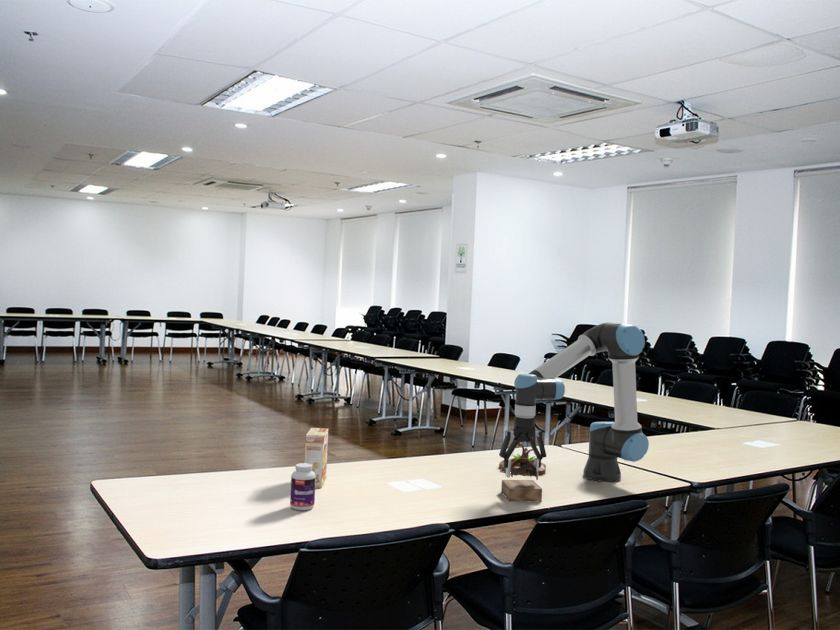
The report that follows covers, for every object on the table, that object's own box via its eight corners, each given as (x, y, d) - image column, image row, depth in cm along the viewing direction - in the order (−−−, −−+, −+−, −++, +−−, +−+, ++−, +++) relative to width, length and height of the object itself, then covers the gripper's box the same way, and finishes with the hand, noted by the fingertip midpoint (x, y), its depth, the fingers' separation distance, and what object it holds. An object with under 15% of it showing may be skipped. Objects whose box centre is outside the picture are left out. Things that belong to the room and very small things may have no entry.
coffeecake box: (322, 488, 264) (324, 435, 263) (302, 487, 264) (304, 434, 263) (327, 477, 279) (329, 427, 278) (308, 477, 278) (310, 427, 278)
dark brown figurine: (541, 483, 257) (532, 464, 255) (516, 492, 259) (507, 473, 257) (538, 467, 268) (529, 448, 267) (514, 475, 270) (506, 457, 268)
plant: (501, 462, 317) (502, 437, 317) (545, 466, 314) (547, 441, 313) (497, 473, 298) (498, 446, 297) (545, 477, 294) (546, 450, 294)
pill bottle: (291, 512, 234) (292, 468, 234) (288, 504, 242) (290, 462, 242) (316, 511, 237) (317, 467, 236) (312, 503, 244) (314, 461, 244)
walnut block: (532, 493, 270) (533, 480, 270) (541, 502, 258) (542, 488, 258) (501, 492, 269) (501, 479, 269) (508, 502, 257) (509, 488, 257)
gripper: (549, 414, 269) (546, 473, 270) (491, 414, 264) (489, 474, 264) (557, 418, 262) (554, 478, 262) (498, 418, 256) (495, 479, 257)
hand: (521, 476), depth 263 cm, fingers closed on dark brown figurine, 10 cm apart
